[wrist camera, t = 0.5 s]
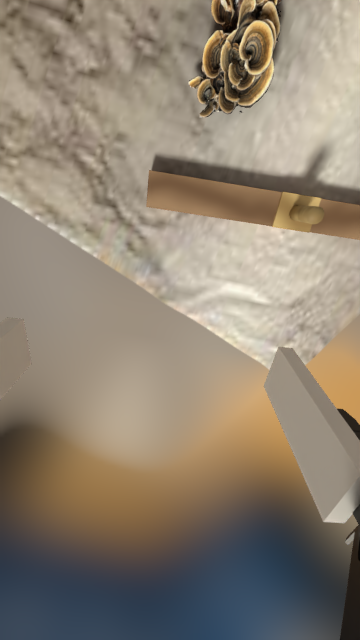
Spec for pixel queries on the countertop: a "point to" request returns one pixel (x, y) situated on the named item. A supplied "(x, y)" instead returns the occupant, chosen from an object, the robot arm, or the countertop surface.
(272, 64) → the mushroom
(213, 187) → the beam plank
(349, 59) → the countertop surface
